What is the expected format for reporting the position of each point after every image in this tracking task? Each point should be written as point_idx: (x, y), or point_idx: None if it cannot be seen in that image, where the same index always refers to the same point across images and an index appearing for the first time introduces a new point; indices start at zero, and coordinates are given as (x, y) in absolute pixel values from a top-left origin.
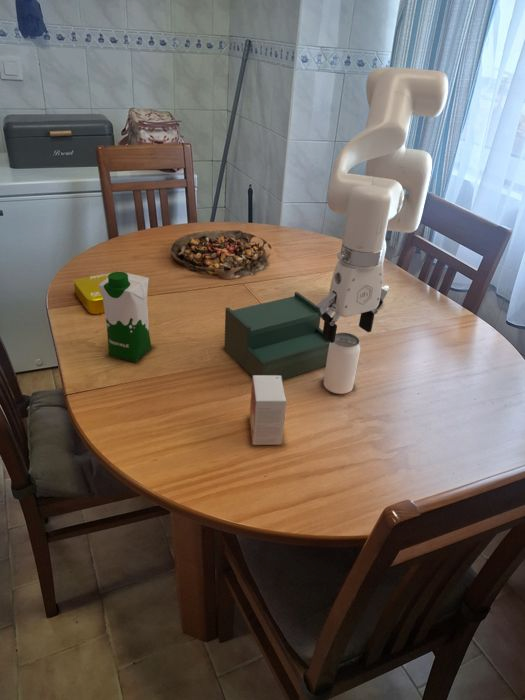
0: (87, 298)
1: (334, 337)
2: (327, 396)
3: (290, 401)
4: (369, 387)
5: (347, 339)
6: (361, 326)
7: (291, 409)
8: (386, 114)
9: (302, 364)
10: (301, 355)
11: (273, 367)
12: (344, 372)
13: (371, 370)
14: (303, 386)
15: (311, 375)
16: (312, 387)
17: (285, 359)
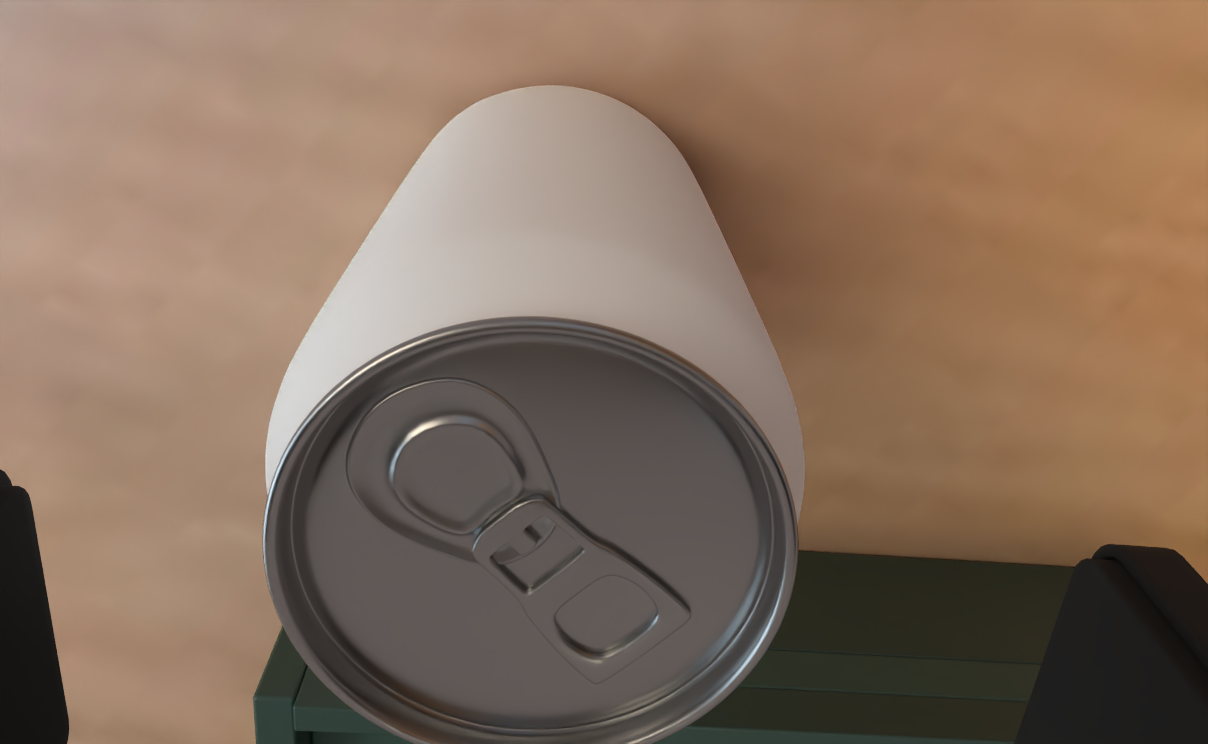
0: None
1: (1195, 622)
2: (765, 167)
3: (1107, 296)
4: (254, 37)
5: (481, 562)
6: (44, 701)
7: (1197, 201)
8: None
9: None
10: (779, 692)
11: None
12: (667, 176)
13: (28, 254)
14: (837, 402)
15: None
16: (779, 350)
17: (990, 711)
